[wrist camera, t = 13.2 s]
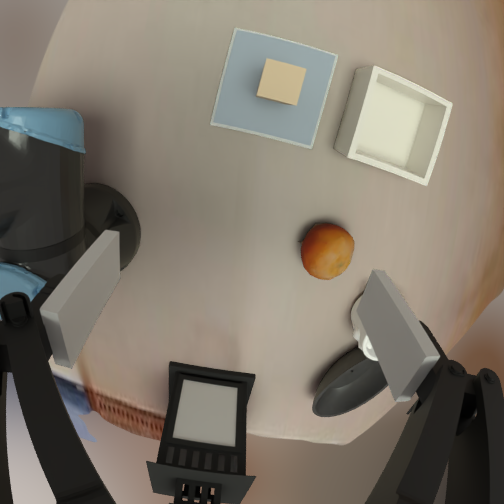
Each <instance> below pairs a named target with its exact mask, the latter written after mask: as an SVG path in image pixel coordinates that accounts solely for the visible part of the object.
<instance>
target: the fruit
mask: <svg viewBox="0 0 504 504" xmlns="http://www.w3.org/2000/svg"><path fill="white" fill-rule="evenodd" d="M298 242H299V243H302V246H301V258H302V262H303V265H304V268H305V269H306V270H307V272H308V273H309V274H310V275H312V276H314V277H316V278H318V279H324V280H330V279H332V278H334V277H336V276H338V275H340V274H341V273H342V272H344V271H345V270H346V268H347V267H348V265H349V264H350V262H351V259H352V255H353V251H354V240H353V237H352V236H351V235H350V234H349V233H348V232H347V231H346V230H345V229H343V228H341V227H339V226H337V225H333V224H328V223H322V224H315V225H314V227H313V228H312V229H311V230H310V231H309V232H308V233H307V234H306V236H305V238H304V240H303V241H302V242H300V241H298Z"/></svg>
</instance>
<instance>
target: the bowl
mask: <svg viewBox="0 0 504 504" xmlns="http://www.w3.org/2000/svg"><path fill="white" fill-rule="evenodd" d="M387 386H388V383H387V380H386V378H385V375H384V373H383V371H382V368H381V366H380V363H379V361H374V360H371V359H369V358H368V357H366V356H365V354H364V353H363V351H362V350H361V349H360V348H359V347H357V348H356V349H354V350H352V351H350V352H349V353H347V354H346V355H344V356H343V357H342V358H341V359H339V360H338V361H337V362H336V363H335V364H334V365H333V366H332V367H331V368H330V369H329V370H328V372H327V373H326V375H325V376H324V378H323V379H322V381H321V383H320V385H319V387H318V389H317V392H316V394H315V397H314V401H313V406H312V410H313V412H314V414H316V415H317V416H320V417H332V416H337V415H341V414H344V413H347V412H349V411H351V410H354V409H356V408H357V407H359V406H361V405H363V404H365V403H366V402H368V401H369V400H371V399H372V398H374V397H375V396H376V395H378V394H379V393H380V392H381V391H383V390H384V389H385V388H386V387H387Z"/></svg>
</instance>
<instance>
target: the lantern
mask: <svg viewBox="0 0 504 504" xmlns="http://www.w3.org/2000/svg"><path fill="white" fill-rule="evenodd" d="M254 381H255V374H250V373H242V372H234V371H227V370H220V369H213V368H207V367H200V366H194V365H188V364H183V363H177V362H172V361H170V364H169V404H168V409H167V414H166V418H165V423H164V428H163V432H162V437H161V442H160V447H159V452H158V457H157V462H156V463H153V462H149V461H146V463H147V468H148V472H149V476H150V481H151V485H152V489H153V492H154V493H158V494H164V495H169V496H174V504H207V501H209V502H211V504H220V503H229V504H240V503H241V501H242V499H243V498H244V496H245V495H246V493H247V491H248V490H249V488H250V486H251V485H252V483H253V481H254V479H255V478H256V476H246V413H247V404H248V400H249V397H250V394H251V391H252V387H253V384H254ZM183 484H185V485H184V491H182V488H183ZM200 486H201V487H202V492H201V493H200ZM211 488H215V491H214V495H211ZM182 498H186V499H188V501H183V500H182ZM194 500H200V501H199V503H197V502H194ZM169 504H173V503H169Z"/></svg>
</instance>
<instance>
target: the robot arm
mask: <svg viewBox="0 0 504 504" xmlns="http://www.w3.org/2000/svg"><path fill="white" fill-rule="evenodd" d="M84 154H86V150H85V148H84V122H83V118H82V116H81V115H80V114H79V113H78V112H77V111H75V110H72V109H62V108H39V107H5V108H3V107H0V319H1V320H2V321H0V504H13V499H12V492H11V484H10V477H9V467H8V456H7V441H6V389H7V372H12V374H13V378H14V383H15V386H16V390H17V394H18V398H19V402H20V406H21V409H22V412H23V416H24V419H25V422H26V426H27V429H28V431H29V434H30V438H31V440H32V443H33V446H34V449H35V451H36V454H37V457H38V459H39V461H40V464H41V467H42V469H43V471H44V473H45V476H46V478H47V481H48V483H49V485H50V487H51V489H52V492H53V494H54V496H55V498H56V501H57V503H56V504H116V503H115V501H114V499H113V498H112V496H111V495H110V493H109V491H108V490H107V488H106V486H105V485H104V483H103V481H102V480H101V478H100V476H99V474H98V473H97V471H96V469H95V467H94V465H93V464H92V462H91V460H90V458H89V456H88V454H87V453H86V450H85V448H84V447H83V444H82V442H81V440H80V438H79V436H78V434H77V432H76V430H75V428H74V425H73V423H72V421H71V419H70V416H69V414H68V412H67V410H66V407H65V405H64V402H63V400H62V397H61V395H60V392H59V390H58V387H57V385H56V382H55V379H54V376H53V374H52V371H51V368H50V365H49V362H48V360H49V359H50V357H51V355H53V358H54V361H55V364H58V365H61V366H64V367H68V368H71V369H72V368H73V366H74V364H75V361H76V359H77V357H78V355H79V353H80V352H81V350H82V348H83V346H84V344H85V342H86V340H87V338H88V336H89V334H90V332H91V330H92V328H93V327H94V325H95V323H96V321H97V319H98V317H99V315H100V314H101V312H102V310H103V308H104V306H105V305H106V303H107V301H108V299H109V298H110V296H111V294H112V292H113V291H114V289H115V287H116V285H117V284H118V282H119V280H120V271H122V270H123V269H124V268H125V267H126V266H127V265H128V264H129V263H130V262H131V260H132V259H133V257H134V256H135V254H136V252H137V250H138V247H139V244H140V225H139V221H138V218H137V215H136V213H135V211H134V209H133V208H132V206H131V205H130V203H129V202H128V201H127V200H126V198H125V197H124V196H122V195H121V194H120V193H119V192H117V191H116V190H114V189H113V188H111V187H108V186H106V185H102V184H95V183H91V184H85V185H84ZM356 311H357V314H358V316H359V318H360V320H361V322H362V325H363V327H364V329H365V331H366V334H367V336H368V338H369V340H370V343H371V345H372V347H373V349H374V352H375V354H376V356H377V359H378V361H379V363H380V366H381V368H382V371H383V373H384V375H385V378H386V380H387V383H388V385H389V388H390V390H391V393H392V395H393V398H394V400H395V402H400V401H409V400H410V399H411V397H412V396H413V395H414V393H415V392H416V393H417V395H418V397H419V398H418V400H417V401H416V402H415V404H414V405H413V406H412V407H411V409H410V410H409V411H408V412H407V414H409V413H410V412H411V413H410V416H409V419H408V421H407V423H406V425H405V427H404V430H403V432H402V434H401V436H400V438H399V441H398V443H397V445H396V447H395V449H394V451H393V453H392V455H391V457H390V459H389V461H388V463H387V465H386V467H385V469H384V471H383V472H382V474H381V476H380V478H379V480H378V482H377V483H376V485H375V487H374V489H373V490H372V492H371V494H370V496H369V497H368V499H367V501H366V502H365V504H433V502H434V500H435V497H436V494H437V492H438V489H439V486H440V483H441V480H442V477H443V474H444V472H445V468H446V465H447V462H448V459H449V463H448V478H447V490H446V499H445V504H504V397H503V393H502V388H501V383H500V380H499V378H498V376H497V375H496V373H495V372H493V371H492V370H490V369H487V368H483V369H481V370H480V372H479V373H478V374H477V376H475V375H471V374H467V372H466V370H465V368H464V367H463V366H462V365H461V364H460V363H458V362H456V361H454V360H448V358H447V357H446V355H445V353H444V352H443V350H442V348H441V347H440V345H439V344H438V342H436V341H437V340H436V339H435V337H434V336H433V334H432V333H431V331H430V330H429V328H428V327H427V326H426V325H425V324H424V323H423V322H422V321H418V319H417V318H416V316H415V315H414V313H413V311H412V310H411V308H410V307H409V305H408V304H407V302H406V301H405V299H404V298H403V296H402V295H401V293H400V292H399V291H398V289H397V288H396V286H395V285H394V283H393V282H392V280H391V279H390V277H389V276H388V275H387V273H386V272H385V271H382V270H376V269H373V270H372V273H371V275H370V278H369V280H368V283H367V285H366V288H365V290H364V293H363V295H362V298H361V300H360V303H359V305H358V307H357V310H356ZM476 413H477V415H476V417H475V414H476Z"/></svg>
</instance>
